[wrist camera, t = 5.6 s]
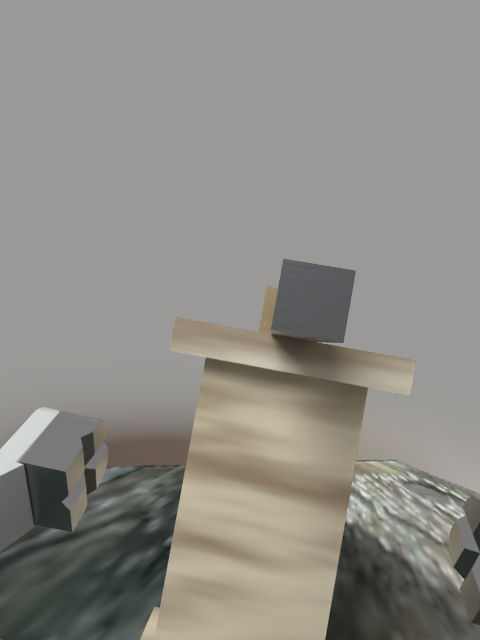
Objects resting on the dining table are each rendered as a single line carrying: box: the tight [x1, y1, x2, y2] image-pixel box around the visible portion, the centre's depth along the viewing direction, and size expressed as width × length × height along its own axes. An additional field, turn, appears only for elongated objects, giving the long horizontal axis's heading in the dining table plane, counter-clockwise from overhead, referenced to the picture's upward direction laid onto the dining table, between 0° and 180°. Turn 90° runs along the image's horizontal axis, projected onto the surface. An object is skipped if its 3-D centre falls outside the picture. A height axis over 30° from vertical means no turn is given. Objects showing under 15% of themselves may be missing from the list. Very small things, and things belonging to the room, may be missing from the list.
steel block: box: [259, 259, 356, 343], centre depth 25 cm, size 22×4×4 cm, turn 176°
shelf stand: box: [140, 317, 416, 640], centre depth 30 cm, size 12×14×26 cm
